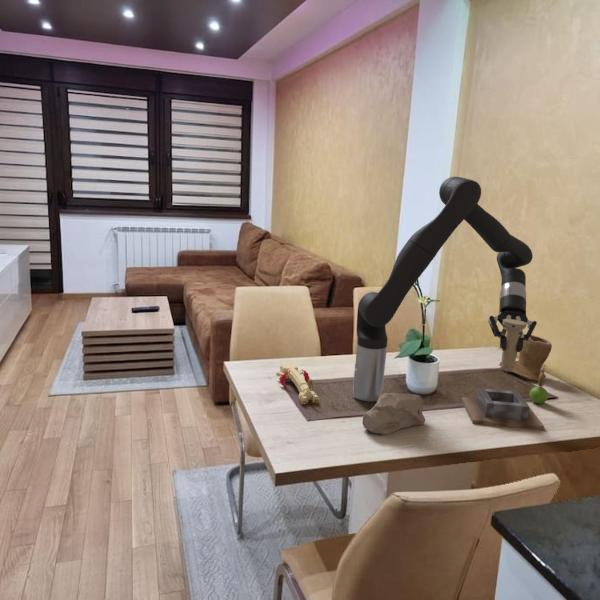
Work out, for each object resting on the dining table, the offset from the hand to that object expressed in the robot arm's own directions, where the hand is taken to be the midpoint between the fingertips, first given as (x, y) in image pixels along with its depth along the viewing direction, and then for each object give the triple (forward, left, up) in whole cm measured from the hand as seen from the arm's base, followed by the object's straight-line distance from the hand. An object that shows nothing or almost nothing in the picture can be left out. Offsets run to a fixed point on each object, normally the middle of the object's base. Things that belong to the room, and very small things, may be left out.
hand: (511, 349), depth 151 cm
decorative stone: (-33, -12, -22) cm, 41 cm away
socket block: (0, +2, -21) cm, 21 cm away
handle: (0, +2, -7) cm, 7 cm away
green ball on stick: (+15, +14, -21) cm, 30 cm away
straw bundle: (-62, +8, -22) cm, 67 cm away
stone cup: (+19, +39, -22) cm, 48 cm away
